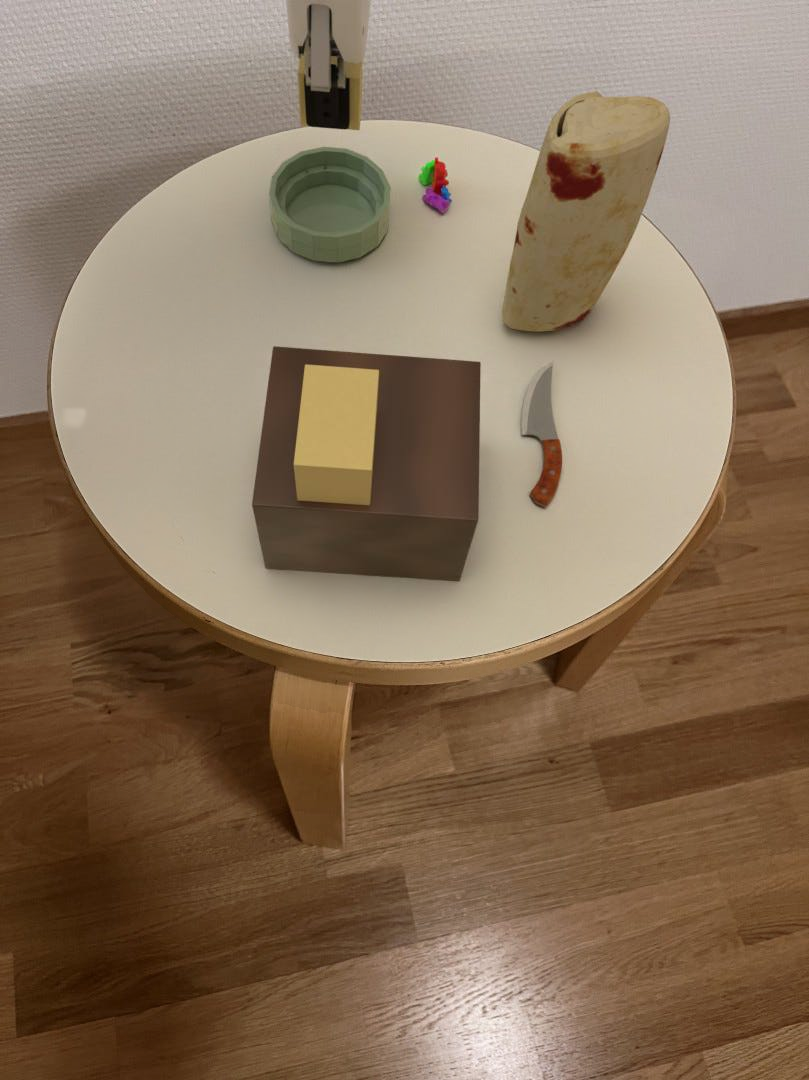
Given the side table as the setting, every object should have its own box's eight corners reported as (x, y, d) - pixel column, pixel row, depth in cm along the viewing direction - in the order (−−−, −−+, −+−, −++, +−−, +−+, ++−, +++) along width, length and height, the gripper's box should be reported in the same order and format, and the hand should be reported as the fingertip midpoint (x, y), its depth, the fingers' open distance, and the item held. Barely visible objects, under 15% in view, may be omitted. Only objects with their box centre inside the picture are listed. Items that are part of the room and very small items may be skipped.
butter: (297, 500, 55) (293, 464, 51) (307, 405, 58) (305, 363, 54) (370, 505, 56) (372, 470, 52) (377, 410, 59) (379, 369, 54)
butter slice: (300, 126, 68) (297, 73, 64) (303, 102, 69) (300, 49, 65) (359, 130, 68) (360, 78, 64) (361, 107, 69) (362, 54, 65)
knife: (519, 357, 72) (556, 358, 73) (518, 361, 73) (555, 363, 73) (525, 503, 67) (565, 505, 67) (523, 507, 67) (563, 508, 67)
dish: (266, 261, 76) (263, 231, 73) (279, 174, 80) (276, 142, 77) (384, 270, 76) (386, 241, 73) (391, 183, 80) (393, 152, 77)
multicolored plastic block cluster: (453, 216, 79) (458, 185, 76) (423, 217, 79) (426, 186, 76) (447, 174, 81) (451, 142, 78) (417, 175, 81) (420, 143, 78)
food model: (516, 360, 73) (572, 163, 55) (479, 299, 76) (521, 92, 57) (619, 324, 75) (705, 123, 57) (580, 266, 78) (651, 56, 60)
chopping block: (264, 568, 64) (251, 504, 55) (282, 425, 69) (272, 345, 60) (459, 581, 65) (478, 520, 56) (463, 438, 70) (480, 361, 61)
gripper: (380, -71, 48) (372, 193, 65) (396, -235, 55) (385, 42, 72) (239, -83, 48) (268, 185, 65) (272, -247, 55) (290, 34, 71)
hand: (329, 108), depth 68 cm, fingers closed on butter slice, 2 cm apart
